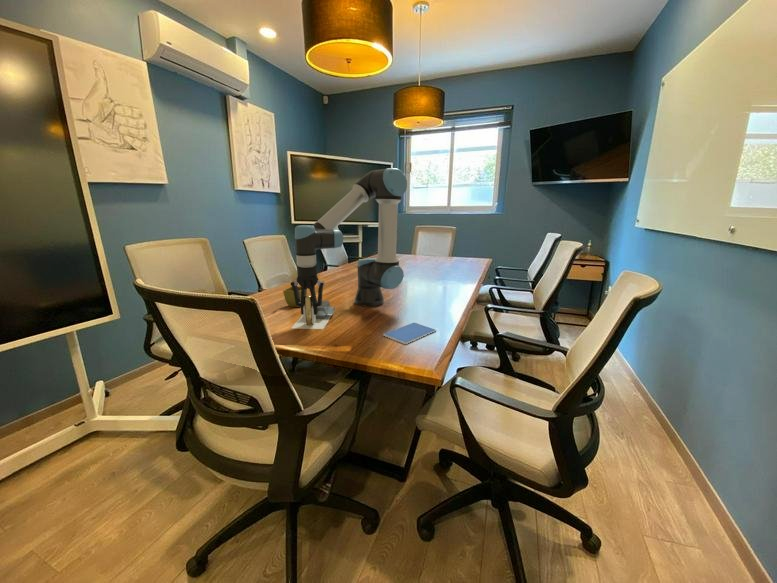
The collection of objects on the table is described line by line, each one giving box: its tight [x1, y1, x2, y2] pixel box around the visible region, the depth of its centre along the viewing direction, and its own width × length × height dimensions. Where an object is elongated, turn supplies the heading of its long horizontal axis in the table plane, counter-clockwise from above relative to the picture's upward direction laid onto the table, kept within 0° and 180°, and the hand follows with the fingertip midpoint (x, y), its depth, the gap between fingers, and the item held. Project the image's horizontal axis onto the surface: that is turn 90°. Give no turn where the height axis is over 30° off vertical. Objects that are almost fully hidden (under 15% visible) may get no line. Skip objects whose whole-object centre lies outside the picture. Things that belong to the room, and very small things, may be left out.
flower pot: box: [282, 286, 308, 308], centre depth 160 cm, size 9×9×9 cm
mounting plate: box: [291, 314, 333, 330], centre depth 139 cm, size 13×22×2 cm, turn 178°
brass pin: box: [304, 294, 314, 326], centre depth 131 cm, size 3×3×12 cm
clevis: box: [312, 300, 336, 319], centre depth 143 cm, size 12×10×5 cm
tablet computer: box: [382, 322, 437, 345], centre depth 128 cm, size 19×13×1 cm, turn 135°
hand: (309, 321), depth 132 cm, fingers closed on brass pin, 3 cm apart
